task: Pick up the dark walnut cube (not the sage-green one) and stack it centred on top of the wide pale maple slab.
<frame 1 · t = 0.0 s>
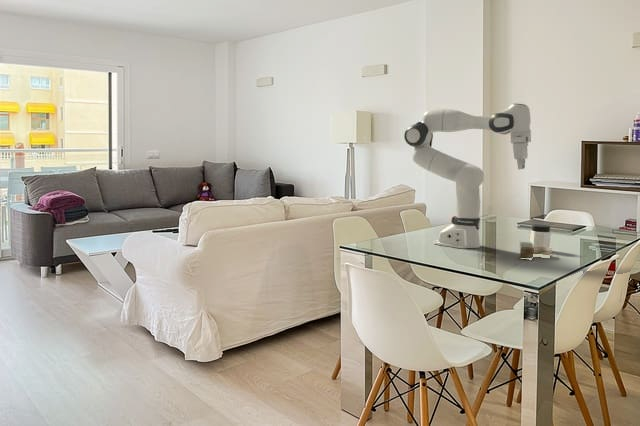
hand: (521, 169, 255), 39 cm above the table, tool pointing down, fingers open, 8 cm apart
sage cube: (525, 253, 256), on the table
walnut cube: (526, 259, 243), on the table
maple slab: (540, 257, 250), on the table
jar: (539, 250, 265), on the table
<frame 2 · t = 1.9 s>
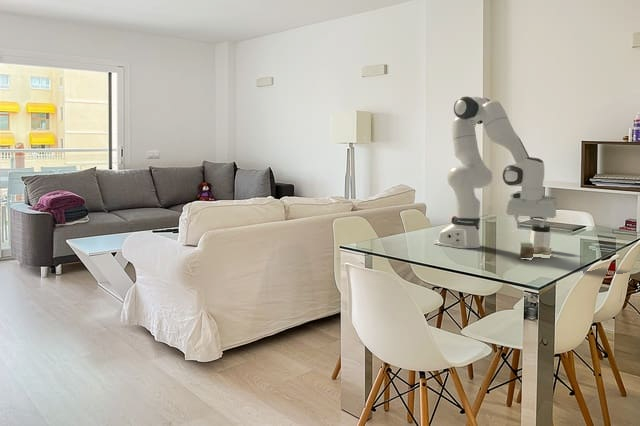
hand: (529, 226, 241), 15 cm above the table, tool pointing down, fingers open, 8 cm apart
nothing on the table moved.
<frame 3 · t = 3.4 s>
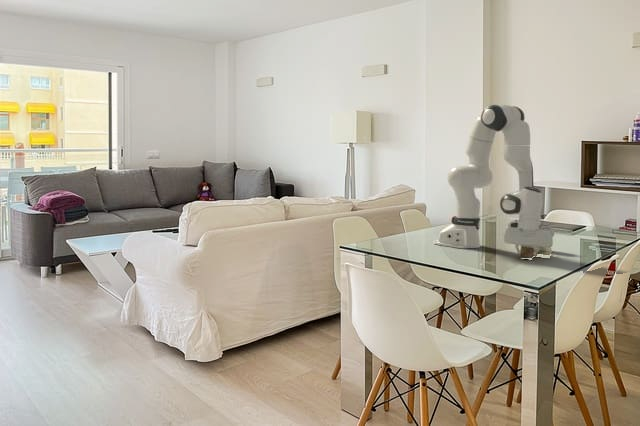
hand: (526, 255, 243), 2 cm above the table, tool pointing down, fingers closed on walnut cube, 5 cm apart
walnut cube: (526, 259, 243), on the table, touching gripper
everything else where it was.
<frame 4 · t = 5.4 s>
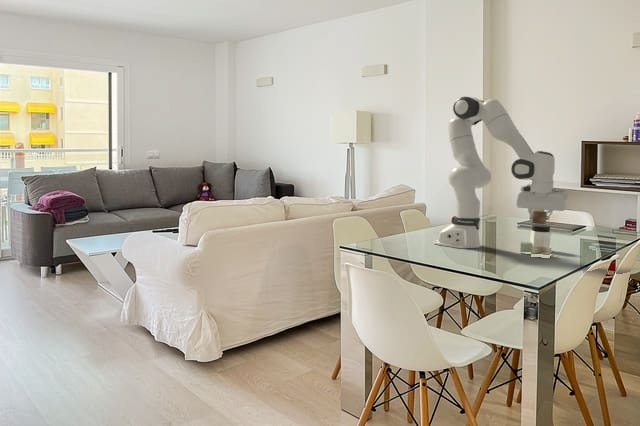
hand: (539, 219, 245), 17 cm above the table, tool pointing down, fingers closed on walnut cube, 5 cm apart
walnut cube: (539, 223, 245), point 16 cm above the table, touching gripper
everything else where it was.
when the fingers open (7 cm above the table, at t = 7.6 s): walnut cube drops 2 cm, resting on maple slab.
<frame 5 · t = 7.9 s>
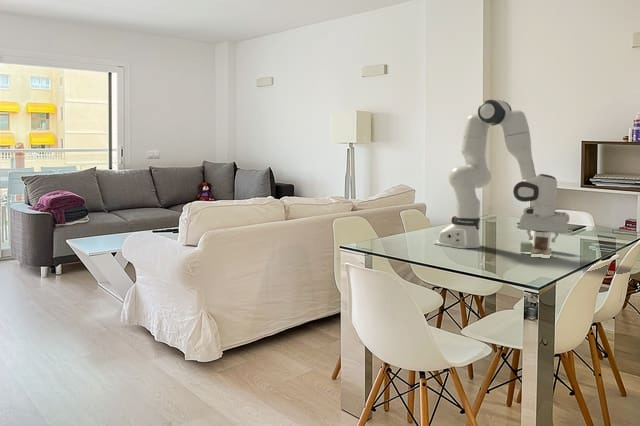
hand: (541, 241, 249), 7 cm above the table, tool pointing down, fingers open, 8 cm apart
walnut cube: (541, 248, 249), point 4 cm above the table, touching maple slab
maple slab: (540, 257, 250), on the table, touching walnut cube
everything else where it was.
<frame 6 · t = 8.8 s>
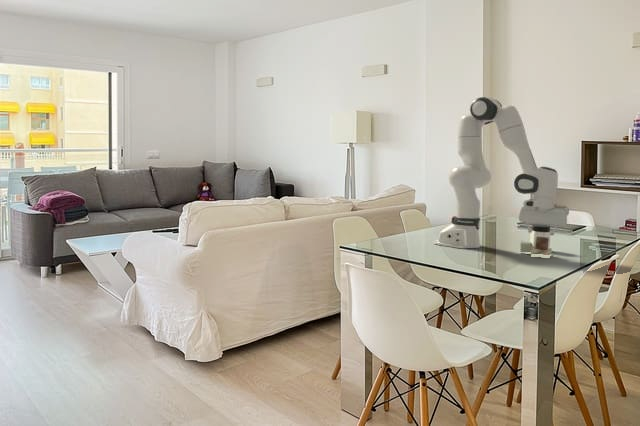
hand: (540, 233, 249), 10 cm above the table, tool pointing down, fingers open, 8 cm apart
nothing on the table moved.
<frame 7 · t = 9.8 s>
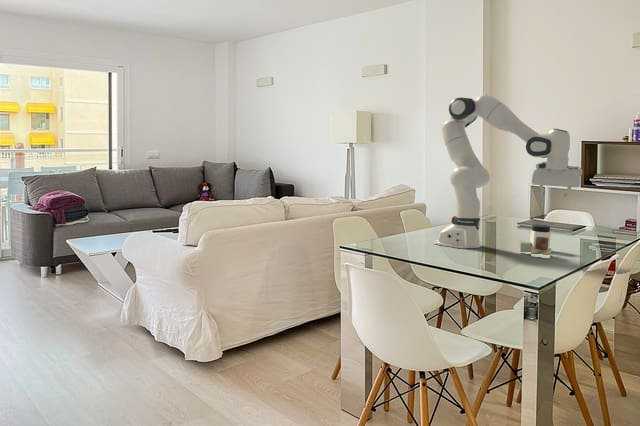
hand: (554, 196, 249), 27 cm above the table, tool pointing down, fingers open, 8 cm apart
nothing on the table moved.
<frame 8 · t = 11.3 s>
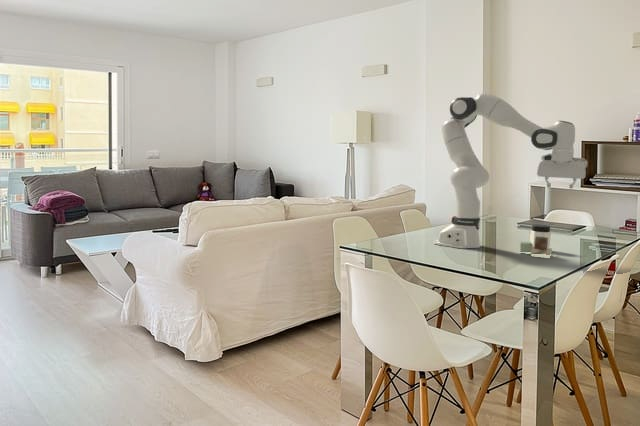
hand: (559, 187, 251), 31 cm above the table, tool pointing down, fingers open, 8 cm apart
walnut cube: (540, 248, 249), point 4 cm above the table
maple slab: (540, 257, 250), on the table
everything else where it was.
at the end: walnut cube 0.4 cm off-centre on the maple slab, point 4.0 cm above the maple slab's base; the gripper is holding nothing; sage cube moved 0.1 cm from its start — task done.
